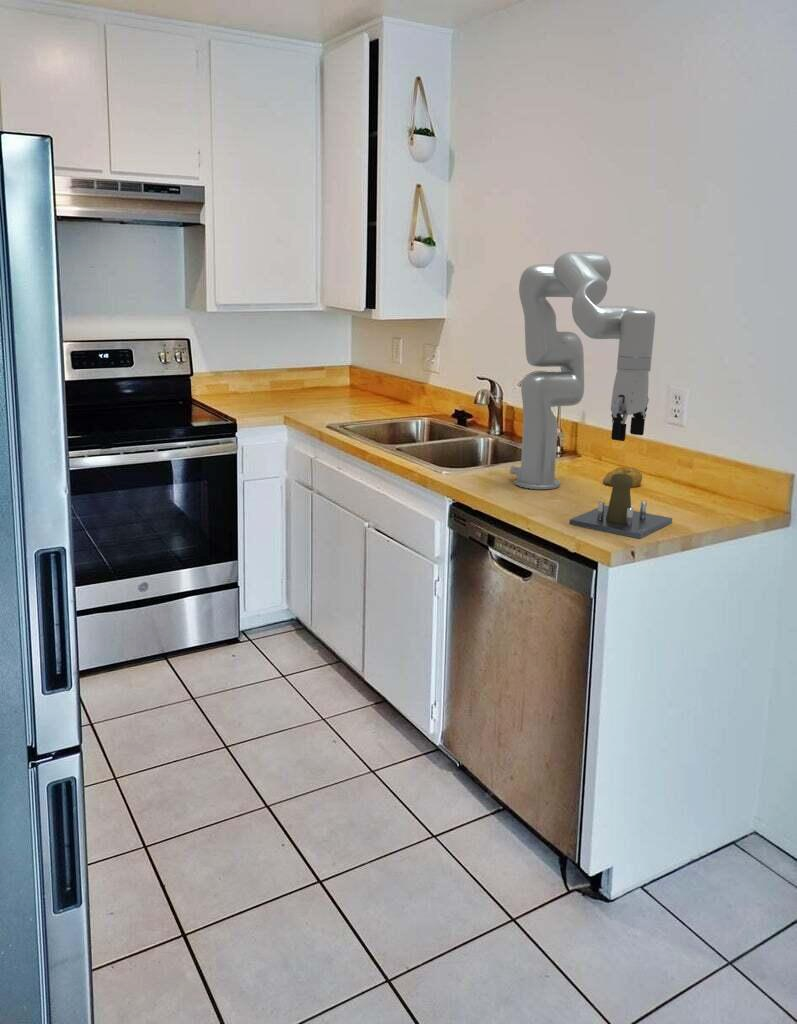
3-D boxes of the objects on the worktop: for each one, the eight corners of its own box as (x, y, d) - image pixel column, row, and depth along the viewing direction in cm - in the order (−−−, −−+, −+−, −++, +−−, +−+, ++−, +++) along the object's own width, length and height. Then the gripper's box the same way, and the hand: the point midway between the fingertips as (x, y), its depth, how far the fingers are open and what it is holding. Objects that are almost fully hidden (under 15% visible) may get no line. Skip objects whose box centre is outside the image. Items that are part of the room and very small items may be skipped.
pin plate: (569, 524, 218) (570, 503, 217) (604, 509, 232) (605, 489, 230) (639, 538, 207) (641, 516, 206) (671, 522, 221) (673, 502, 219)
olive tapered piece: (630, 516, 221) (633, 472, 218) (633, 523, 215) (637, 477, 213) (604, 515, 222) (608, 471, 219) (607, 521, 216) (610, 476, 213)
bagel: (598, 480, 264) (599, 464, 263) (635, 481, 265) (637, 464, 264) (607, 489, 255) (609, 472, 254) (646, 489, 255) (648, 472, 254)
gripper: (635, 360, 218) (629, 430, 223) (601, 365, 205) (595, 440, 210) (665, 362, 214) (658, 434, 218) (632, 368, 201) (625, 444, 206)
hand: (627, 437), depth 214 cm, fingers open, 9 cm apart
